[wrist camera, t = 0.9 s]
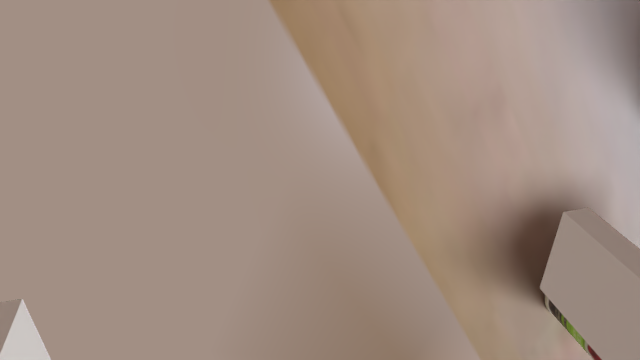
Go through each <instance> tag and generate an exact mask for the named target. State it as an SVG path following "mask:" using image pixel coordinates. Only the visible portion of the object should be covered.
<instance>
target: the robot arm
mask: <svg viewBox="0 0 640 360" xmlns="http://www.w3.org/2000/svg"><path fill="white" fill-rule="evenodd" d="M540 289H541V290H542V292H543V293H544V294H545V295H546V296H547V297H548V298H549V300H550V301H551V302H552V303H553V304H554V305H555V306H556V308H557V309H558V310H559V311H560V312H561V313H562V315H563V316H564V317H565V318H566V319H567V320H568V321H569V323H570V324H571V325H572V326H573V327H574V328H575V329H576V331H577V332H578V333H579V334H580V335H581V336H582V338H583V339H584V340H585V341H586V342H587V343H588V344H589V346H590V347H591V348H592V349H593V350H594V351H595V352H596V354H597V355H598V356H599V357H600V358H601V359H602V360H640V249H639V248H638V247H637V246H635V245H634V244H633V243H632V242H630V241H629V240H628V239H627V238H625V237H624V236H623V235H622V234H620V233H619V232H618V231H617V230H616V229H614V228H613V227H612V226H611V225H609V224H608V223H607V222H606V221H604V220H603V219H602V218H601V217H599V216H598V215H597V214H596V213H594V212H593V211H592V210H591V209H590V208H584V209H577V210H571V211H565V212H563V215H562V218H561V221H560V224H559V227H558V230H557V234H556V237H555V240H554V243H553V246H552V250H551V253H550V256H549V259H548V262H547V266H546V269H545V272H544V275H543V278H542V282H541V285H540ZM0 360H51V359H50V357H49V354H48V352H47V350H46V348H45V346H44V344H43V342H42V340H41V338H40V335H39V333H38V331H37V329H36V327H35V325H34V322H33V320H32V318H31V316H30V314H29V312H28V310H27V308H26V305H25V304H24V301H23V299H18V300H12V301H6V302H0Z"/></svg>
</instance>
